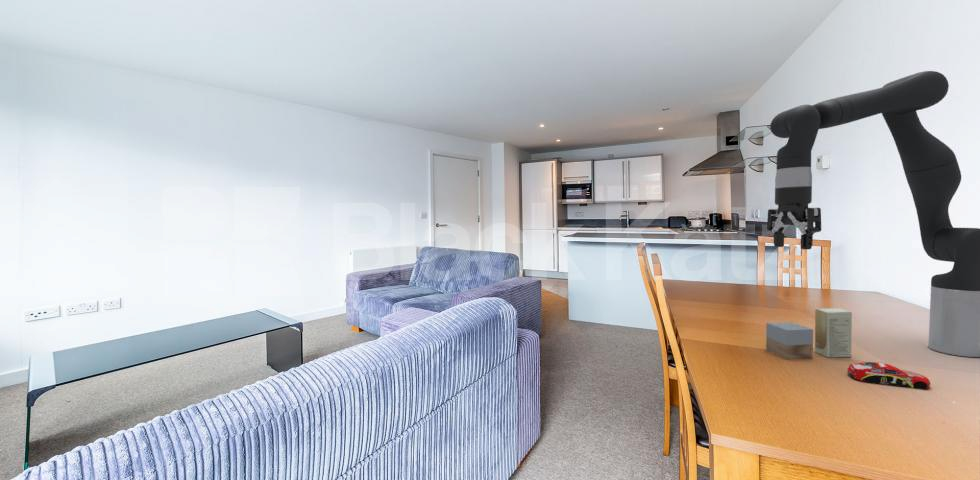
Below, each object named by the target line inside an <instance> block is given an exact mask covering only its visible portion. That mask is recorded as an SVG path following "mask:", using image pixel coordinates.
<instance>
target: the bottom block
mask: <svg viewBox="0 0 980 480" xmlns="http://www.w3.org/2000/svg"><path fill="white" fill-rule="evenodd" d="M765 337H766V336H765ZM765 339H766V341H765V343H766V346H765V349H766V350H765V351H767V352H769V353H771V354H773V355H775V356H778V357H779V356H780V358H781V359H784V360H787V361H789V360H813V358H814V357H813V356H814V343H813V344H811V345H785V344H782V343H780V342H777V341H775V340H773V339H770V338H768V337H766V338H765Z"/></svg>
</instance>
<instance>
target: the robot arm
mask: <svg viewBox="0 0 980 480" xmlns="http://www.w3.org/2000/svg"><path fill="white" fill-rule="evenodd" d="M949 87H950V86H949V81H948V79H947V76H945V75H944V74H943V73H941V72H938V71H936V70H925V71H920V72H916V73H913V74H910V75H908V76H903V77H901V78H898V79H896V80H893V81H890V82H888V83H886V84H884V85H883V86H882V87H879V88H875V89H874V88H873V89H870V90H865V91H860V92H857V93H852V94H848V95H843V96H838V97H835V98H831V99H826V100H823V101H820V102H817V103H814V104H812V105H811V104H802V105H799V106H795V107H793V108H790V109H787V110H784V111H782V112H780V113H777V115H775V116H774V117H773V118H772V120H771V122H770V124H769V125H770V127H769V128H770V131H771V133H772V134H773V136H775V137H777V138H780V139H788V140H787V143H786V144H785V145H784V146H781V147H780V148H779V150H777V152H776V172H775V178H774V204H775V205H776V206H778V208H770V209H768V210H767V221H766V222H767V223H766V224H767V225H766V229H767V231H768V232H769V231H770V232H771V233H773V246H774V247H775V248H783V247H784V246H785V233H784V232H785V231H786V229H787V228H788V227H790V226H794V227H795V228H797V229H798V230H799V232H800V233H801V234H800V250H812V247H813V245H814V244H813V242H814V239H813V238H814V235H815V233H821V231H822V212H821V211H822V209H821V208H820V207H809V204H811V203H812V200H813V197H812V196H813V172H812V151H813V147H814V145H815V142H816V140H817V135H818V133H819V130H824V129H828V128H829V129H830V128H833V127H834V128H835V127H838V126H842V125H846V124H849V123H853V122H856V121H859V120H862V119H866V118H870V117H873V116H875V115H876V116H877V115H879V114H881V115H882V117H883V119H884V121H885V123H886V125H887V127H888V130H889V133H890V134H891V136H892V138H893V141H894V144H895V146H896V149H897V152H898V154H899V158H900V160H901V164H902V167H903V172H904V176H905V178H906V181H907V184H908V188H909V189H910V192H911V196H912V200H913V203H914V207H915V209H916V210H915V211H916V215H917V220H918V225H919V233H920V239H921V244H922V247H923V250H924V252H925V253H926V255H927V256H928V257H929V258H931V259H932V260H936V261H941V262H949V263H953V267H952V269H951V270H950V271H948V272H945V273H940V274H935V275H933V276H932V277H931V280H930V301H929V320H928V321H929V322H928V323H929V324H928V341H927V342H928V346H927V347H928V348H929V349H931V350H933V351H936V352H939V353H944V354H948V355H953V356H960V357H969V358H980V228H979V227H953V225H952V222H951V218H950V213H949V206H950V204H951V201H952V199H953V197H954V196H955V194H956V192H957V190H958V189H959V187H960V185H961V181H962V172H961V169H960V166H959V162H958V160H957V156H956V154H955V152H954V151H953V150H952V149H951V148H950V147H949V146H948V145H947V144H946V143H944V142H943V141H941V140H940V139H939V138H937V137H936V136H935V135H933V134H932V133H931V132H929V131H928V130H927V129H926V128H925V127H924V125H923V124H922V122H921V121H920V117H919V115H918V113H917V112H918V111H920V110H924V109H925V110H926V109H928V108H930V107H933V106H935V105H936V104H938V103H939V102H941V101H943V99H944V98H945V97H946V95H947V94H948V91H949Z"/></svg>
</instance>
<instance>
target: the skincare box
mask: <svg viewBox="0 0 980 480" xmlns="http://www.w3.org/2000/svg"><path fill="white" fill-rule="evenodd" d="M814 309H815V310H814V312H815V314H814V315H815V321H814V324H815V326H814V338H815V339H814V341H815V342H814V352H815V353H817V354H819V355H821V356H824V357H826V358H851V357H852V327H853V326H852V325H853V324H852V321H853V320H852V319H853V318H852V316H853V315H852V314H853V312H852V311H849V310H847V309H843V308H840V307H838V308H837V307H836V308H835V307H832V308H831V307H830V308H814Z"/></svg>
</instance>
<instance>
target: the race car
mask: <svg viewBox="0 0 980 480" xmlns="http://www.w3.org/2000/svg"><path fill="white" fill-rule="evenodd" d="M846 373H847V374H848V375H849V376H851V377H852V378H854V379H856V380H858V381H862V382H867V383H868V384H873V383H875V384H874V385H876V384H879V385H888V386H895V387H896V386H897V387H904V388H914V389H916V390H922V389H923V390H922V391H924V390H926V389H930V387H931V382H930V381H931V380H930V379H929V378H928V377H926V376H925V375H922V374H920V373H916V372H913V371H909V370H905V369H900V368H898V367H896V366H893V365H892V364H888V363H884V362H874V361H871V362H869V361H866V362H865V361H863V362H857V363H850V364H849V365H848V367H847V372H846Z"/></svg>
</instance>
